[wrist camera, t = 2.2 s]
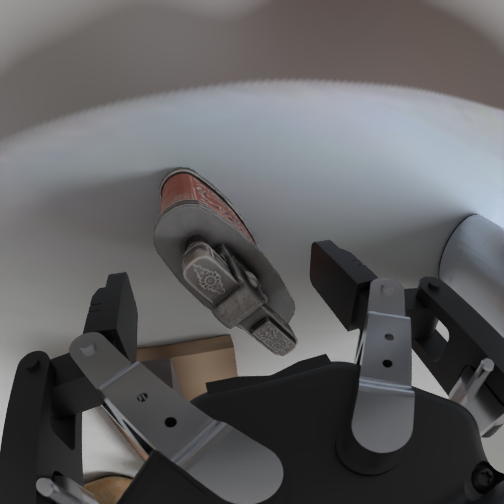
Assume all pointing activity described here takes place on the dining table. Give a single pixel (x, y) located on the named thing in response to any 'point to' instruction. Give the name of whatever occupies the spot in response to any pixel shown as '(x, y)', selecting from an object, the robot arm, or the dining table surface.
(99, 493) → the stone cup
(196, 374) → the rail
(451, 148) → the dining table surface
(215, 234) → the lighter
